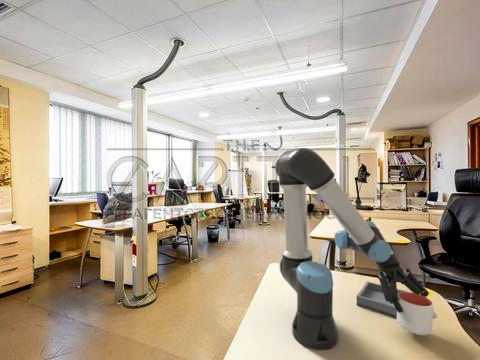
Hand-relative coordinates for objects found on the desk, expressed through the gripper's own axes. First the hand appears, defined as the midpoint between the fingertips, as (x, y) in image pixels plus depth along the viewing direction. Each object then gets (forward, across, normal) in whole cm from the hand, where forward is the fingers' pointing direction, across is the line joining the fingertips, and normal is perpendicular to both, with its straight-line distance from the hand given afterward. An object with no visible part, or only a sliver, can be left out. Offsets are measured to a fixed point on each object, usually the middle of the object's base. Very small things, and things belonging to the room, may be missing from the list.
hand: (422, 320), depth 81 cm
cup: (+1, 0, -5) cm, 5 cm away
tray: (-11, -7, -19) cm, 23 cm away
